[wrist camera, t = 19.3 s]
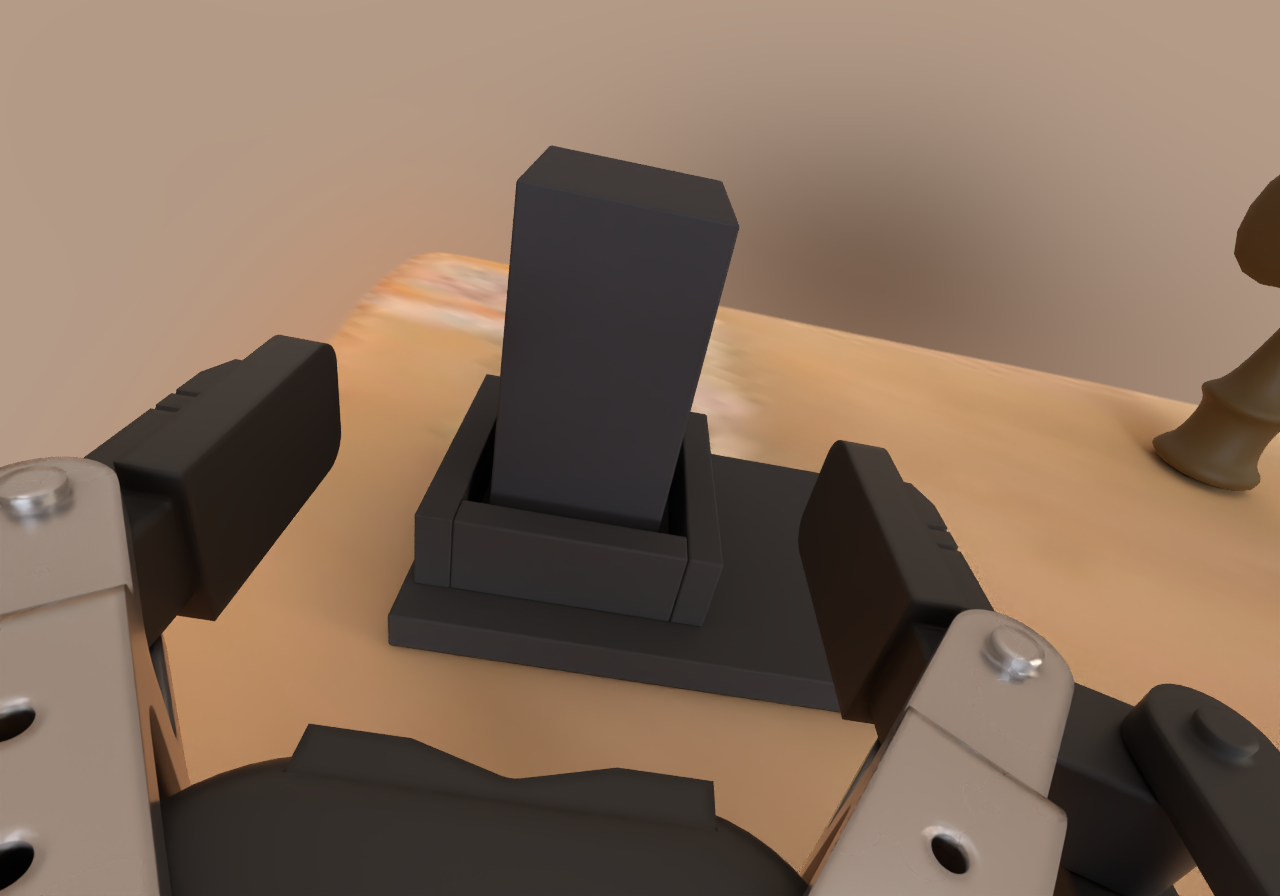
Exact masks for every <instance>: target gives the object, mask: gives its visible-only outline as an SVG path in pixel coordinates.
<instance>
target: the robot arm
mask: <svg viewBox="0 0 1280 896" xmlns="http://www.w3.org/2000/svg"><path fill="white" fill-rule="evenodd" d="M340 440H341V422H340V406H339V390H338V373H337V359H336V354H335V351H334V349H333V347H332V346H331V345H329V344H326V343H320V342H314V341H309V340H304V339H299V338H294V337H288V336H283V335H276V336H274V337H272V338H271V339H269V340H268V341H267V342H266V343H265V344H263V345H262V346H260V347H259V348H258V349H257V350H255V351H254V352H253V353H251V354H250V355H249V356H248V357H246V358H245V359H244V360H237V359H235V360H232V361H229V362H227V363H224V364H221V365H219V366H216V367H213V368H210V369H207V370H205V371H202V372H200V373H198V374H197V375H196V376H194V377H193V378H192V379H190V380H189V381H188V382H186V383H185V384H183V385H182V386H181V387H179V388H178V389H177V390H176V394H173V393H171V394H170V395H168V396H167V397H166V398H164V399H163V400H162V401H160V402H159V403H158V404H156V408H155V409H149V410H148V411H147V412H146V413H144V414H143V415H141V416H140V417H139V418H137V419H136V420H134V421H133V422H132V423H130V424H129V425H128V426H127V427H125V428H123V429H122V430H121V431H119V432H118V433H117V434H115V435H114V436H113V437H111V438H110V439H109V440H107V441H106V442H104V443H103V444H102V445H100V446H99V447H98V448H97V449H95V450H94V451H92V452H91V453H89V454H88V455H87V456H85V457H84V458H78V457H48V458H38V459H32V460H27V461H22V462H17V463H13V464H9V465H6V466H3V467H0V896H1179V895H1178V893H1177V892H1176V890H1175V888H1174V886H1173V884H1174V883H1175V882H1177V881H1178V880H1179V879H1181V878H1182V877H1183V876H1184V875H1186V874H1187V873H1188V872H1190V871H1191V870H1192V869H1194V868H1195V867H1196V866H1197V867H1198V868H1199V870H1200V872H1201V873H1202V875H1203V877H1204V878H1205V880H1206V882H1207V884H1208V885H1209V887H1210V889H1211V890H1212V892H1213V894H1214V895H1215V896H1280V752H1279V751H1278V749H1277V748H1276V747H1275V746H1274V745H1273V744H1272V743H1271V741H1270V740H1269V739H1268V738H1267V737H1266V736H1265V735H1264V734H1263V733H1262V732H1261V731H1260V730H1259V729H1257V728H1256V727H1255V726H1254V725H1253V724H1252V723H1250V722H1249V721H1248V720H1247V719H1245V718H1244V717H1243V716H1241V715H1240V714H1239V713H1237V712H1236V711H1234V710H1233V709H1231V708H1230V707H1228V706H1227V705H1225V704H1223V703H1222V702H1220V701H1218V700H1216V699H1214V698H1213V697H1211V696H1208V695H1206V694H1204V693H1202V692H1200V691H1197V690H1194V689H1192V688H1189V687H1185V686H1181V685H1176V684H1161V685H1157V686H1155V687H1154V688H1152V689H1151V690H1150V691H1149V692H1148V693H1147V694H1146V695H1145V696H1144V698H1143V699H1142V700H1141V701H1140V702H1139V703H1138V704H1137V705H1136V706H1135V707H1134V706H1132V705H1129V704H1127V703H1124V702H1122V701H1119V700H1117V699H1114V698H1112V697H1109V696H1107V695H1105V694H1102V693H1100V692H1097V691H1095V690H1092V689H1090V688H1087V687H1085V686H1082V685H1080V684H1077V683H1075V682H1074V679H1073V676H1072V673H1071V671H1070V668H1069V667H1068V665H1067V663H1066V662H1065V660H1064V659H1063V657H1062V656H1061V655H1060V654H1059V652H1058V651H1057V650H1056V649H1055V648H1054V647H1053V646H1052V645H1051V644H1050V643H1049V642H1048V641H1047V640H1045V639H1044V638H1043V637H1042V636H1041V635H1039V634H1038V633H1037V632H1035V631H1034V630H1032V629H1031V628H1029V627H1028V626H1026V625H1024V624H1023V623H1021V622H1019V621H1017V620H1015V619H1013V618H1011V617H1008V616H1006V615H1003V614H1000V613H997V612H995V611H994V609H993V608H992V606H991V604H990V602H989V601H988V599H987V597H986V595H985V594H984V592H983V590H982V588H981V587H980V585H979V583H978V581H977V579H976V578H975V576H974V574H973V572H972V571H971V569H970V567H969V565H968V564H967V562H966V560H965V558H964V557H963V555H962V553H961V552H959V551H957V548H958V546H957V544H956V543H955V541H954V539H953V537H952V536H951V534H950V532H947V531H946V530H947V527H946V525H945V523H944V521H943V520H942V518H941V516H940V514H939V513H938V511H937V509H936V507H935V506H934V505H933V504H932V503H931V502H930V501H929V500H928V499H927V498H926V497H925V496H924V495H923V494H922V493H921V492H920V491H918V490H917V489H916V488H915V487H914V486H913V485H912V484H911V483H906V482H903V480H902V478H901V476H900V474H899V472H898V470H897V468H896V467H895V465H894V463H893V461H892V459H891V457H890V455H889V453H888V452H887V450H885V449H884V448H880V447H875V446H869V445H864V444H858V443H853V442H848V441H842V440H838V441H836V442H835V443H834V444H833V445H832V447H831V448H830V450H829V452H828V454H827V457H826V459H825V462H824V464H823V466H822V469H821V471H820V474H819V476H818V479H817V481H816V483H815V486H814V488H813V491H812V493H811V495H810V498H809V500H808V503H807V505H806V507H805V510H804V512H803V515H802V518H801V522H800V527H799V535H798V546H799V553H800V556H801V560H802V564H803V568H804V572H805V576H806V580H807V583H808V587H809V591H810V595H811V599H812V603H813V607H814V611H815V614H816V618H817V622H818V626H819V630H820V634H821V638H822V641H823V645H824V649H825V653H826V657H827V661H828V665H829V668H830V672H831V676H832V680H833V684H834V688H835V692H836V696H837V699H838V703H839V707H840V711H841V715H842V719H844V720H850V721H857V722H864V723H870V724H874V725H875V728H876V731H877V735H878V738H877V740H876V742H875V743H874V745H873V746H872V748H871V749H870V751H869V753H868V754H867V756H866V758H865V760H864V761H863V763H862V765H861V767H860V768H859V770H858V772H857V774H856V775H855V777H854V779H853V781H852V782H851V784H850V786H849V788H848V789H847V791H846V793H845V795H844V796H843V798H842V800H841V802H840V804H839V805H838V807H837V809H836V811H835V812H834V814H833V816H832V818H831V819H830V821H829V823H828V825H827V826H826V828H825V830H824V832H823V833H822V835H821V837H820V839H819V840H818V842H817V844H816V846H815V847H814V849H813V851H812V852H811V854H810V856H809V858H808V859H807V861H806V862H805V864H804V866H803V867H802V869H801V871H800V872H799V874H798V873H797V872H796V871H795V870H794V869H793V868H792V867H791V866H790V865H789V864H788V863H787V862H786V861H785V860H784V859H782V858H781V857H780V856H779V855H778V854H777V853H776V852H775V851H773V850H772V849H771V848H770V847H769V846H767V845H766V844H764V843H763V842H762V841H760V840H759V839H757V838H756V837H755V836H753V835H752V834H750V833H749V832H747V831H745V830H744V829H742V828H740V827H738V826H737V825H735V824H733V823H731V822H729V821H728V820H725V819H723V818H721V817H718V816H716V815H715V800H714V785H713V781H707V780H700V779H693V778H686V777H679V776H672V775H665V774H658V773H651V772H644V771H637V770H630V769H623V768H610V769H601V770H592V771H584V772H575V773H566V774H557V775H548V776H539V777H530V778H520V779H513V778H506V777H503V776H500V775H498V774H495V773H493V772H491V771H488V770H486V769H483V768H481V767H479V766H476V765H474V764H472V763H469V762H467V761H464V760H462V759H460V758H457V757H455V756H452V755H450V754H448V753H445V752H443V751H441V750H438V749H436V748H433V747H431V746H429V745H426V744H424V743H422V742H419V741H417V740H414V739H412V738H406V737H399V736H392V735H385V734H378V733H371V732H364V731H357V730H350V729H343V728H336V727H329V726H322V725H315V724H308V726H307V728H306V730H305V732H304V734H303V736H302V738H301V740H300V742H299V744H298V746H297V748H296V750H295V751H294V753H293V755H292V757H287V758H278V759H273V760H268V761H263V762H259V763H254V764H249V765H246V766H243V767H240V768H236V769H233V770H230V771H227V772H224V773H220V774H218V775H215V776H213V777H211V778H208V779H206V780H203V781H201V782H198V783H196V784H194V785H191V786H190V782H189V777H188V773H187V768H186V763H185V757H184V752H183V746H182V739H181V733H180V727H179V721H178V715H177V709H176V703H175V697H174V690H173V684H172V678H171V672H170V666H169V660H168V654H167V648H166V644H165V640H164V637H163V631H164V630H165V629H166V628H167V627H168V625H169V624H170V623H171V622H172V621H173V619H174V618H175V617H176V616H177V615H178V616H184V617H191V618H197V619H204V620H210V621H215V620H216V619H217V618H218V616H219V615H220V614H221V613H222V611H223V610H224V609H225V607H226V606H227V605H228V603H229V602H230V601H231V599H232V598H233V597H234V595H235V594H236V593H237V592H238V590H239V589H240V588H241V586H242V585H243V584H244V582H245V581H246V580H247V578H248V577H249V576H250V574H251V573H252V572H253V571H254V569H255V568H256V567H257V565H258V564H259V563H260V561H261V560H262V559H263V557H264V556H265V555H266V553H267V552H268V551H269V550H270V548H271V547H272V546H273V544H274V543H275V542H276V540H277V539H278V538H279V536H280V535H281V534H282V533H283V531H284V530H285V529H286V527H287V526H288V525H289V523H290V522H291V521H292V519H293V518H294V517H295V515H296V514H297V513H298V512H299V510H300V509H301V508H302V506H303V505H304V504H305V502H306V501H307V500H308V498H309V497H310V496H311V494H312V493H313V492H314V491H315V489H316V488H317V487H318V485H319V484H320V483H321V481H322V480H323V479H324V477H325V476H326V475H327V473H328V472H329V471H330V469H331V468H332V466H333V464H334V462H335V460H336V457H337V454H338V450H339V446H340Z"/></svg>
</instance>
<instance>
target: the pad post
mask: <svg viewBox="0 0 1280 896" xmlns="http://www.w3.org/2000/svg"><path fill="white" fill-rule="evenodd" d="M738 231H739V224H738V221H737V219H736V216H735V214H734V211H733V208H732V206H731V203H730V201H729V198H728V196H727V193H726V190H725V188H724V185H723V183H722V182H721V181H718V180H713V179H708V178H703V177H699V176H694V175H689V174H684V173H680V172H675V171H670V170H665V169H661V168H655V167H651V166H647V165H641V164H637V163H632V162H627V161H622V160H618V159H613V158H608V157H603V156H598V155H594V154H589V153H584V152H580V151H575V150H570V149H565V148H561V147H556V146H549V148H548V149H547V150H546V151H545V152H544V153H543V154H542V155H541V156H540V157H539V158H538V159H537V160H536V161H535V162H534V163H533V165H531V166H530V167H529V168H528V170H527V171H526V172H525V173H524V174H523V175H522V176H521V177H520V178H519V179H518V180H517V183H516V195H515V207H514V219H513V231H512V242H511V255H510V266H509V278H508V290H507V302H506V314H505V326H504V338H503V350H502V362H501V374H500V385H499V397H498V409H497V421H496V433H495V445H494V457H493V469H492V481H491V493H490V505H496V506H502V507H508V508H514V509H520V510H526V511H532V512H538V513H544V514H550V515H556V516H562V517H568V518H574V519H580V520H586V521H592V522H598V523H604V524H610V525H616V526H622V527H628V528H634V529H640V530H646V531H652V532H658V531H659V527H660V523H661V520H662V516H663V512H664V508H665V505H666V501H667V497H668V493H669V490H670V486H671V482H672V478H673V475H674V471H675V467H676V463H677V460H678V456H679V452H680V448H681V445H682V441H683V437H684V433H685V430H686V426H687V422H688V418H689V415H690V411H691V407H692V403H693V400H694V396H695V392H696V388H697V384H698V381H699V377H700V373H701V369H702V366H703V362H704V358H705V354H706V351H707V347H708V343H709V339H710V336H711V332H712V328H713V324H714V321H715V317H716V313H717V309H718V306H719V302H720V298H721V294H722V290H723V287H724V283H725V279H726V276H727V272H728V268H729V264H730V261H731V257H732V253H733V249H734V245H735V242H736V238H737V234H738Z"/></svg>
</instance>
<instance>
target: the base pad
mask: <svg viewBox="0 0 1280 896" xmlns="http://www.w3.org/2000/svg"><path fill="white" fill-rule="evenodd" d="M499 385H500V377H499V376H494V375H488V374H487V375H486V377H485V379H484V381H483V383H482V385H481V386H480V388H479V390H478V392H477V394H476V396H475V398H474V400H473V402H472V404H471V406H470V408H469V410H468V412H467V414H466V416H465V418H464V420H463V422H462V424H461V426H460V428H459V430H458V432H457V433H456V435H455V437H454V439H453V441H452V443H451V445H450V447H449V449H448V451H447V453H446V455H445V457H444V459H443V461H442V463H441V465H440V467H439V469H438V471H437V473H436V475H435V477H434V478H433V480H432V482H431V484H430V486H429V488H428V490H427V492H426V494H425V496H424V498H423V500H422V502H421V504H420V506H419V508H418V510H417V512H416V514H415V559H414V561H413V563H412V566H411V568H410V570H409V572H408V574H407V576H406V578H405V581H404V583H403V585H402V587H401V589H400V591H399V593H398V595H397V598H396V600H395V602H394V604H393V606H392V608H391V610H390V612H389V615H388V634H389V644H390V645H395V646H402V647H409V648H415V649H422V650H429V651H435V652H442V653H449V654H455V655H462V656H469V657H475V658H482V659H489V660H496V661H502V662H509V663H516V664H522V665H529V666H536V667H542V668H549V669H556V670H562V671H569V672H576V673H582V674H589V675H596V676H603V677H609V678H616V679H623V680H629V681H636V682H643V683H649V684H656V685H663V686H669V687H676V688H683V689H689V690H696V691H703V692H709V693H716V694H723V695H730V696H736V697H743V698H750V699H756V700H763V701H770V702H776V703H783V704H790V705H796V706H803V707H810V708H816V709H823V710H830V711H837V712H841V711H840V707H839V703H838V699H837V696H836V692H835V688H834V684H833V680H832V676H831V672H830V668H829V665H828V661H827V657H826V653H825V649H824V645H823V641H822V638H821V634H820V630H819V626H818V622H817V618H816V614H815V611H814V607H813V603H812V599H811V595H810V591H809V587H808V583H807V580H806V576H805V572H804V568H803V564H802V560H801V556H800V553H799V546H798V535H799V527H800V522H801V518H802V515H803V512H804V510H805V507H806V505H807V503H808V500H809V498H810V495H811V493H812V491H813V488H814V486H815V483H816V481H817V479H818V476H819V474H820V473H815V472H810V471H804V470H798V469H793V468H787V467H781V466H776V465H770V464H765V463H759V462H753V461H748V460H742V459H736V458H731V457H725V456H720V455H714V454H711V450H710V441H709V432H708V423H707V416H706V415H705V414H700V413H694V412H690V415H689V418H688V422H687V426H686V430H685V433H684V437H683V441H682V445H681V448H680V452H679V456H678V460H677V463H676V467H675V471H674V475H673V478H672V482H671V486H670V490H669V493H668V497H667V501H666V505H665V508H664V512H663V516H662V520H661V523H660V527H659V531H658V532H652V531H646V530H640V529H634V528H628V527H622V526H616V525H610V524H604V523H598V522H592V521H586V520H580V519H574V518H568V517H562V516H556V515H550V514H544V513H538V512H532V511H526V510H520V509H514V508H508V507H502V506H496V505H490V493H491V481H492V469H493V457H494V445H495V433H496V421H497V409H498V397H499Z"/></svg>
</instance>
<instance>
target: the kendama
mask: <svg viewBox="0 0 1280 896" xmlns="http://www.w3.org/2000/svg"><path fill="white" fill-rule="evenodd" d="M1234 255H1235V257H1236V259H1237V261H1238V263H1239V265H1240V268H1241V270H1242V272H1244V273H1245V274H1247V275H1248V276H1249V277H1251V278H1252V279H1254V280H1255V281H1257V282H1258V283H1260V284H1263V285H1268V286H1273V287H1278V288H1280V175H1279V176H1278V177H1276V178H1275V179H1274V180H1272V181H1271V182H1270V183H1269V184H1268V185H1267V187H1266V188H1265V189H1264V190H1263V191H1262V192H1261V194H1260V195H1259V196H1258V197H1257V198H1256V200H1255V201H1254V202H1253V203H1252V204H1251V205H1250V207H1249V209H1248V211H1247V213H1246V215H1245V217H1244V219H1243V221H1242V223H1241V225H1240V227H1239V229H1238V231H1237V237H1236V244H1235V251H1234ZM1202 392H1203V398H1202V401H1201V403H1200V405H1199V406H1198V408H1197V409H1196V411H1195V412H1194V413H1193V414H1192V415H1191V416H1190V417H1189V418H1188V419H1187V420H1186V421H1185V422H1184V423H1183V424H1182V425H1181V426H1179V427H1178V428H1177V429H1175V430H1173V431H1170V432H1166V433H1164V434H1161V435H1159V436H1157V437H1156V438H1154V440H1153V441H1152V443H1153V445H1154V448H1155V450H1156V453H1157V454H1158V455H1159V456H1160V457H1161V458H1162V459H1163V460H1164V461H1165V462H1166V463H1168V464H1169V465H1171V466H1172V467H1174V468H1175V469H1177V470H1178V471H1180V472H1181V473H1183V474H1185V475H1187V476H1189V477H1191V478H1194V479H1196V480H1198V481H1201V482H1203V483H1205V484H1208V485H1211V486H1215V487H1219V488H1223V489H1227V490H1232V491H1240V490H1251V489H1252V488H1254V487H1255V486H1257V485H1258V484H1259V483H1260V475H1259V473H1258V470H1257V462H1258V460H1259V457H1260V455H1261V454H1262V452H1263V450H1264V449H1265V447H1266V446H1267V445H1268V443H1269V442H1270V441H1271V440H1272V439H1273V438H1274V437H1275V436H1276V435H1277V434H1278V433H1279V432H1280V328H1279V329H1278V330H1277V331H1276V332H1275V333H1274V334H1273V336H1271V337H1270V338H1269V339H1268V340H1267V341H1266V342H1265V343H1264V344H1263V345H1262V346H1261V347H1260V348H1259V349H1258V350H1257V351H1256V352H1255V353H1253V354H1252V355H1251V356H1250V357H1249V358H1248V359H1247V360H1246V361H1245V362H1243V363H1242V364H1241V365H1240V366H1239V367H1238V368H1236V369H1235V370H1233V371H1232V372H1231V373H1229V374H1228V375H1226V376H1224V377H1222V378H1219V379H1215V380H1210V381H1207V382H1205V383H1204V384H1203V385H1202Z"/></svg>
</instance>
